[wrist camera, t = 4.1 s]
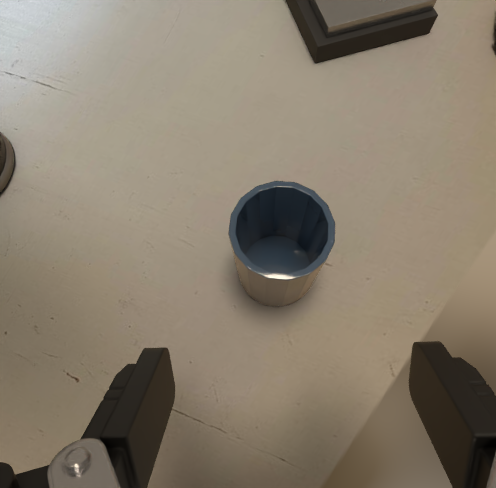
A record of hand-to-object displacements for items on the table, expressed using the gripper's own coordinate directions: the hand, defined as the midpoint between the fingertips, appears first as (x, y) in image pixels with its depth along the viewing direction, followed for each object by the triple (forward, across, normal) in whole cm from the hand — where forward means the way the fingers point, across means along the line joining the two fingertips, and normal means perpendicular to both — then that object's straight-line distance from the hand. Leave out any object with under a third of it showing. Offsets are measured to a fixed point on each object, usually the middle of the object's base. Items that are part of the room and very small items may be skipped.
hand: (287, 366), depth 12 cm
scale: (+36, -8, -17) cm, 40 cm away
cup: (+17, 0, +4) cm, 18 cm away
